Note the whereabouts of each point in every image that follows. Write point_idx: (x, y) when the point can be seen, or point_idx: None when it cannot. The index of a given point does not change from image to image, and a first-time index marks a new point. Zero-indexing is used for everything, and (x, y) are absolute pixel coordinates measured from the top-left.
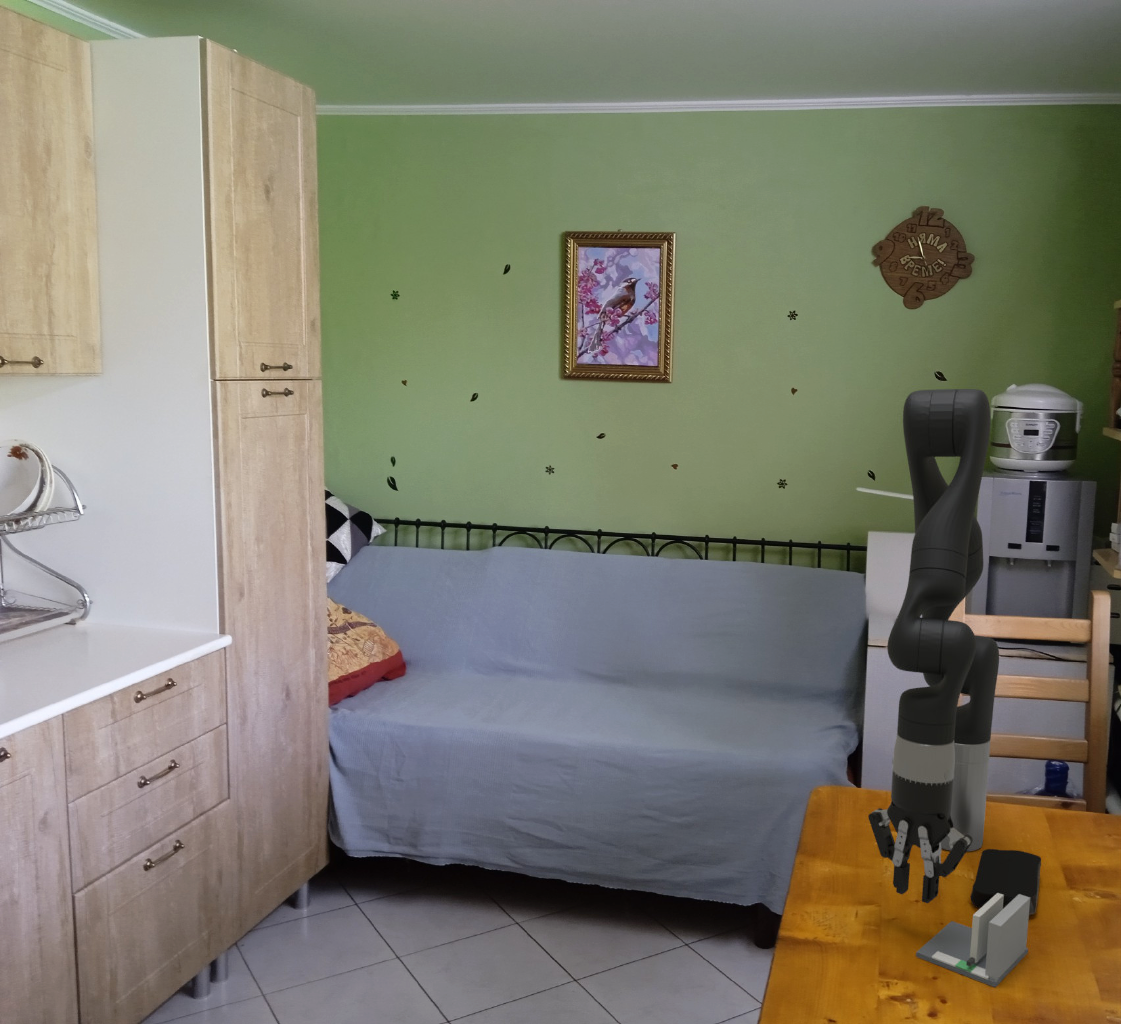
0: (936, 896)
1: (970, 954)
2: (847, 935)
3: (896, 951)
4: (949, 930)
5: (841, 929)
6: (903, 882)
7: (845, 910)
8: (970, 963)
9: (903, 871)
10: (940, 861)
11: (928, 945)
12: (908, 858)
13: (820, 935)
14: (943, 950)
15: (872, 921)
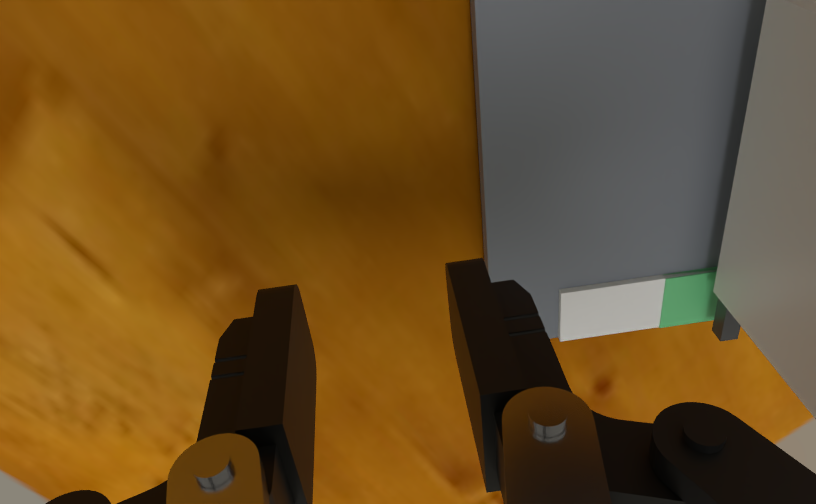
0: (514, 281)
1: (728, 307)
2: None
3: (414, 356)
4: (513, 70)
5: (164, 390)
6: (309, 400)
7: (26, 264)
8: (735, 336)
9: (310, 483)
10: (602, 474)
11: (503, 270)
12: (262, 464)
13: (158, 466)
14: (572, 258)
15: (181, 249)
